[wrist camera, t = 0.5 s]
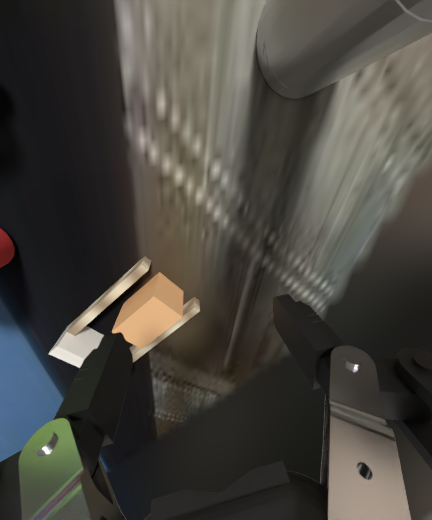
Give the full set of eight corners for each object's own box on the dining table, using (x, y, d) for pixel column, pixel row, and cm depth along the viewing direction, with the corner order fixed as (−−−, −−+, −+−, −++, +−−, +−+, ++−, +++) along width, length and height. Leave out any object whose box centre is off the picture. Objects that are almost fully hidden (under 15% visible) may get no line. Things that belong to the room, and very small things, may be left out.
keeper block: (159, 271, 30) (153, 296, 25) (183, 291, 32) (182, 317, 27) (124, 302, 31) (111, 332, 26) (148, 319, 34) (141, 349, 28)
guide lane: (144, 256, 28) (141, 264, 26) (199, 300, 33) (200, 311, 31) (75, 319, 31) (66, 331, 29) (133, 352, 36) (130, 364, 34)
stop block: (75, 319, 31) (57, 346, 27) (133, 352, 36) (126, 378, 32) (67, 326, 32) (48, 353, 27) (126, 357, 37) (118, 385, 32)
